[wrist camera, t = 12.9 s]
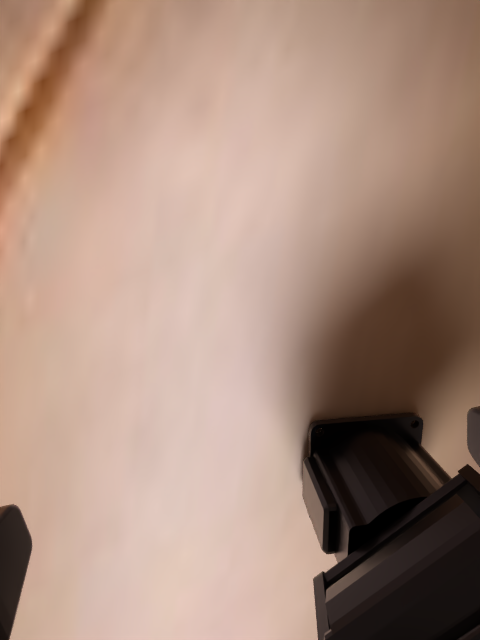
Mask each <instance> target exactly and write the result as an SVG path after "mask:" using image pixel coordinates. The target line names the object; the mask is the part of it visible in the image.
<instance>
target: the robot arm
mask: <svg viewBox="0 0 480 640" xmlns="http://www.w3.org/2000/svg"><path fill="white" fill-rule="evenodd" d="M414 420H415V422H414V423H413V424H411V422H412V421H414ZM410 424H411V425H410ZM319 428H322V430H321V431H320V432H316V430H317V429H319ZM422 430H423V420H422V418H421V417H420V416H419V415H417V414H416V413H403V414H391V415H379V416H367V417H355V418H343V419H331V420H319V421H314V422H313V423H312V424H311V425H310V427H309V454H308V457H306V458H305V459H304V461H303V499H304V502H305V505H306V507H307V511H308V514H309V517H310V518H311V521H312V524H313V527H314V529H315V532H316V535H317V538H318V541H319V543H320V546H321V549H322V550H323V551H324V552H325V553H326V554H333V553H334V554H335V557H336V559H337V562H338V564H336V565H335V566H334V567H332V568H331V569H329V570H328V571H327V572H321V573H320V574H318V575H317V576H316V577H314V578H313V582H314V595H315V607H316V619H317V631H318V640H480V474H479V473H478V472H476V471H475V470H474V469H473V468H472V467H471V466H469V465H468V464H467V465H466V466H464V467H463V468H462V469H460V470H459V471H458V472H459V474H458V475H457V476H455V477H454V478H451V477H450V476H449V475H448V474H447V473H446V472H445V471H444V469H443V468H442V467H441V466H440V465H439V464H438V463H437V462H436V461H435V460H434V459H433V458H432V457H431V455H430V454H429V453H428V452H427V451H426V450H425V449H424V448H423V447H422V446H421V439H422ZM467 445H468V449H469V452H470V454H471V456H472V457H473V459H474V460H475V461H476V463H477V464H478V466H479V467H480V406H479V407H474V408H471V409H470V410H469V411H468V414H467ZM31 551H32V539H31V535H30V533H29V530H28V528H27V525H26V523H25V520H24V518H23V515H22V513H21V511H20V509H19V507H18V506H16V505H14V504H11V505H6V506H2V507H0V640H9V639H10V635H11V631H12V628H13V624H14V620H15V616H16V612H17V608H18V604H19V600H20V596H21V592H22V588H23V584H24V580H25V576H26V572H27V568H28V564H29V560H30V556H31Z"/></svg>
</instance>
